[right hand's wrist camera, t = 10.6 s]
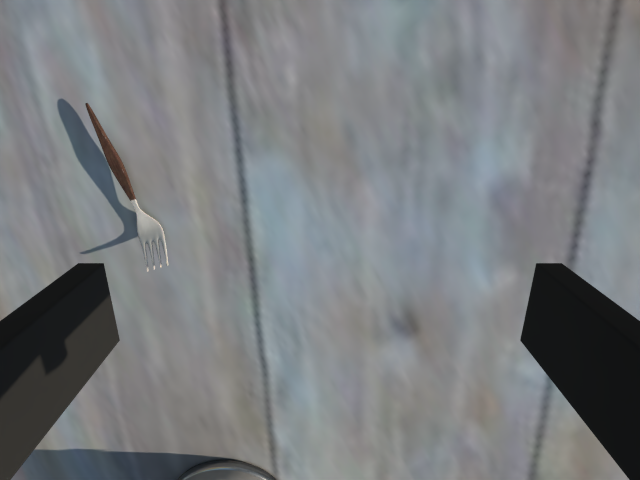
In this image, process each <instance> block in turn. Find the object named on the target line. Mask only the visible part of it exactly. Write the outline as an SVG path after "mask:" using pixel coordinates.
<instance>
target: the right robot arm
mask: <svg viewBox="0 0 640 480" xmlns="http://www.w3.org/2000/svg"><path fill="white" fill-rule="evenodd" d="M118 342H119V335H118V330H117V325H116V321H115V316H114V311H113V306H112V301H111V297H110V292H109V287H108V282H107V277H106V273H105V268H104V263H78V264H77V265H76V266H74V267H73V268H71V269H70V270H69V271H67V272H66V273H65V274H63V275H62V276H61V277H59V278H58V279H57V280H55V281H54V282H53V283H51V284H50V285H49V286H47V287H46V288H44V289H43V290H42V291H40V292H39V293H38V294H36V295H35V296H34V297H32V298H31V299H30V300H28V301H27V302H26V303H24V304H23V305H21V306H20V307H19V308H17V309H16V310H15V311H13V312H12V313H11V314H9V315H8V316H7V317H5V318H4V319H3V320H1V321H0V480H10V479H11V478H12V477H13V476H14V474H15V473H16V472H17V471H18V469H19V468H20V467H21V465H22V464H23V463H24V462H25V460H26V459H27V458H28V457H29V455H30V454H31V453H32V451H33V450H34V449H35V448H36V446H37V445H38V444H39V443H40V441H41V440H42V439H43V437H44V436H45V435H46V434H47V432H48V431H49V430H50V428H51V427H52V426H53V425H54V423H55V422H56V421H57V420H58V418H59V417H60V416H61V414H62V413H63V412H64V411H65V409H66V408H67V407H68V406H69V404H70V403H71V402H72V400H73V399H74V398H75V397H76V395H77V394H78V393H79V391H80V390H81V389H82V388H83V386H84V385H85V384H86V383H87V381H88V380H89V379H90V377H91V376H92V375H93V374H94V372H95V371H96V370H97V369H98V367H99V366H100V365H101V363H102V362H103V361H104V360H105V358H106V357H107V356H108V354H109V353H110V352H111V351H112V349H113V348H114V347H115V346H116V344H117V343H118ZM521 342H522V343H523V344H524V346H525V347H526V348H527V349H528V351H529V352H530V353H531V354H532V356H533V357H534V358H535V360H536V361H537V362H538V363H539V365H540V366H541V367H542V369H543V370H544V371H545V372H546V374H547V375H548V376H549V377H550V379H551V380H552V381H553V383H554V384H555V385H556V386H557V388H558V389H559V390H560V391H561V393H562V394H563V395H564V397H565V398H566V399H567V400H568V402H569V403H570V404H571V406H572V407H573V408H574V409H575V411H576V412H577V413H578V414H579V416H580V417H581V418H582V420H583V421H584V422H585V423H586V425H587V426H588V427H589V429H590V430H591V431H592V432H593V434H594V435H595V436H596V437H597V439H598V440H599V441H600V443H601V444H602V445H603V446H604V448H605V449H606V450H607V451H608V453H609V454H610V455H611V457H612V458H613V459H614V460H615V462H616V463H617V464H618V466H619V467H620V468H621V469H622V471H623V472H624V473H625V474H626V476H627V477H628V478H629V480H640V321H639V320H637V319H636V318H635V317H633V316H632V315H631V314H629V313H628V312H627V311H625V310H624V309H623V308H621V307H620V306H619V305H617V304H616V303H614V302H613V301H612V300H610V299H609V298H608V297H606V296H605V295H604V294H602V293H601V292H600V291H598V290H597V289H596V288H594V287H593V286H591V285H590V284H589V283H587V282H586V281H585V280H583V279H582V278H581V277H579V276H578V275H577V274H575V273H574V272H573V271H571V270H570V269H569V268H567V267H566V266H564V265H563V264H562V263H536V268H535V273H534V277H533V282H532V287H531V292H530V297H529V301H528V306H527V311H526V316H525V321H524V325H523V330H522V335H521ZM178 480H276V479H275V478H274V477H273V476H272V475H270V474H269V473H268V472H266V471H264V470H263V469H261V468H259V467H256V466H254V465H251V464H248V463H244V462H239V461H231V460H218V461H211V462H206V463H203V464H200V465H197V466H195V467H193V468H191V469H189V470H188V471H186V472H185V473H184V474H183V475H182V476H181V477H180V478H179V479H178Z"/></svg>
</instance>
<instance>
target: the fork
mask: <svg viewBox="0 0 640 480" xmlns="http://www.w3.org/2000/svg"><path fill="white" fill-rule="evenodd" d="M86 107H87V110H88V113H89V116H90V118H91V121H92V123H93V126H94V128H95V131H96V133H97V136H98V138H99V141H100V144H101V146H102V149H103V151H104V154H105V157H106V159H107V162H108V164H109V166H110V168H111V170H112V172H113V173H114V175H115V177H116V178H117V180H118V182H119V183H120V185H121V186H122V188H123V190H124V191H125V193H126V194H127V196H128V198H129V199H130V201H131V202H132V204H133V206H134V208H135V210H136V215H137V232H138V236H139V240H140V242H141V246H142V249H143V254H144V258H145V263H146V268H147V272H148V262H147V253H146V243H147V244H148V246H149V249H150V254H151V258H152V263H153V268H154V270H155V264H154V255H153V247H152V242H153V241H154V242H155V245H156V249H157V254H158V258H159V263H160V267H161V256H160V248H159V239H160V240H161V242H162V245H163V249H164V253H165V258H166V263H167V266H168V258H167V250H166V243H165V237H164V232H163V229H162V227H161V225H160V224H159V223H158V222H157V221H156V220H155V219H153V218H152V217H150V216H149V215H147V214H146V213H144V212H143V211H142V210H141V209H140V208H139V206H138V204H137V201H136V198H135V195H134V192H133V189H132V187H131V184H130V181H129V178H128V175H127V172H126V170H125V167H124V165H123V163H122V161H121V159H120V157H119V156H118V154H117V152H116V150H115V149H114V147H113V146H112V144H111V142H110V141H109V139H108V137H107V135H106V134H105V132H104V130H103V128H102V127H101V125H100V123H99V121H98V119H97V118H96V116H95V114H94V112H93V111H92V109H91V107H90V106H89V104H88V103H86Z"/></svg>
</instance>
